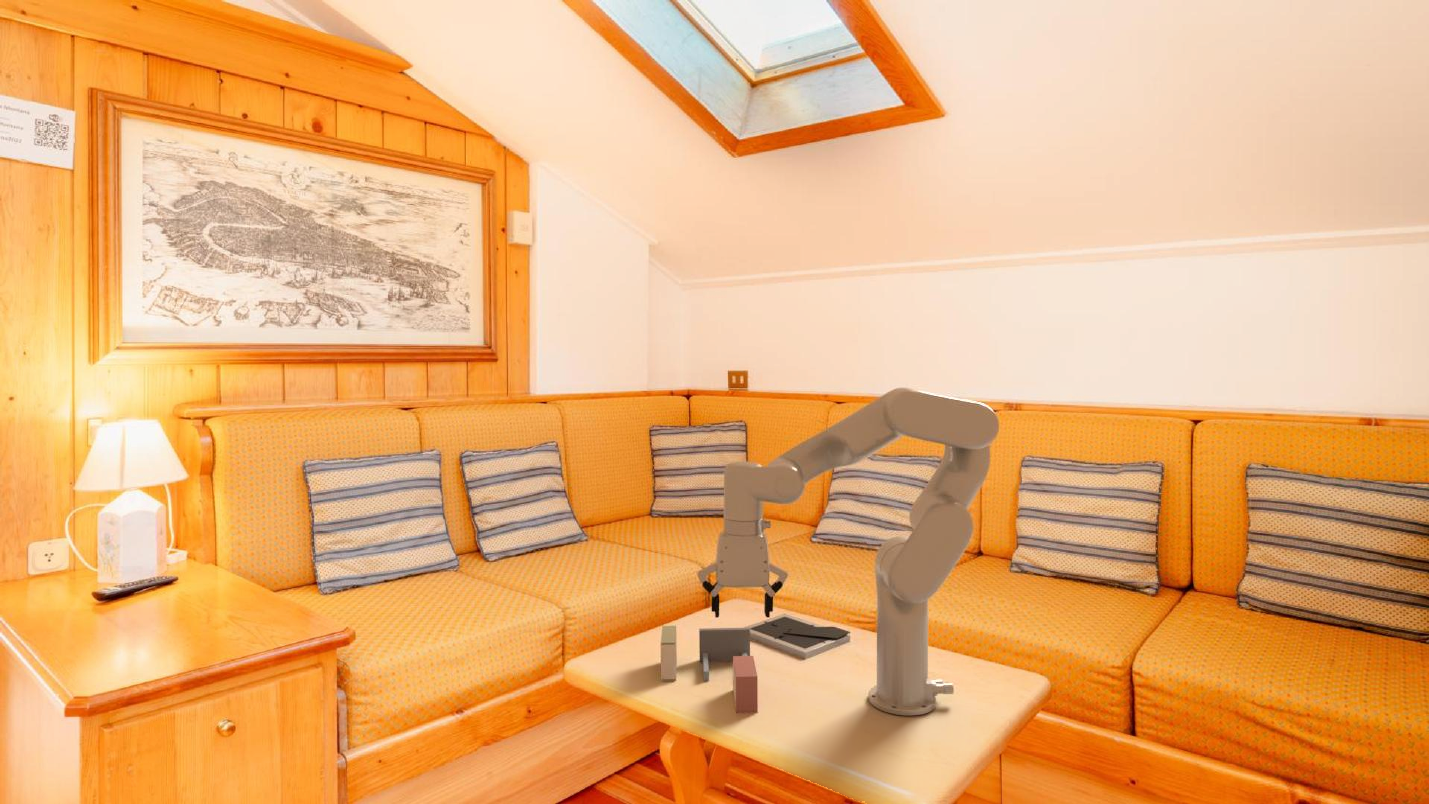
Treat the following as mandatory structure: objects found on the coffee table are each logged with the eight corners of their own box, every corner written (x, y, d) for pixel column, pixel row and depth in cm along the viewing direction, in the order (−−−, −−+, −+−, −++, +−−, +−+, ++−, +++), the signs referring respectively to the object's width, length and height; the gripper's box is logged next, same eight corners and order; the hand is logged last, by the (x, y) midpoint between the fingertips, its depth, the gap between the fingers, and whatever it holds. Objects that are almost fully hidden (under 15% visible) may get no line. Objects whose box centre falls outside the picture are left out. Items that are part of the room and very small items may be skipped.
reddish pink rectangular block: (753, 690, 156) (753, 655, 155) (757, 713, 146) (757, 676, 145) (733, 690, 155) (732, 656, 155) (736, 713, 145) (735, 676, 145)
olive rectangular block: (676, 661, 170) (676, 625, 170) (676, 680, 160) (675, 642, 159) (662, 662, 170) (662, 625, 169) (661, 681, 160) (660, 643, 159)
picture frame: (850, 643, 181) (784, 621, 197) (850, 631, 181) (784, 610, 197) (805, 662, 171) (739, 637, 186) (805, 649, 171) (739, 625, 186)
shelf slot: (749, 658, 171) (749, 627, 171) (753, 680, 160) (753, 646, 160) (699, 659, 171) (699, 628, 170) (700, 681, 160) (700, 647, 159)
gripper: (785, 523, 153) (784, 608, 154) (697, 522, 152) (696, 608, 153) (790, 531, 145) (789, 622, 146) (698, 531, 144) (697, 622, 145)
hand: (742, 615), depth 150 cm, fingers open, 9 cm apart
